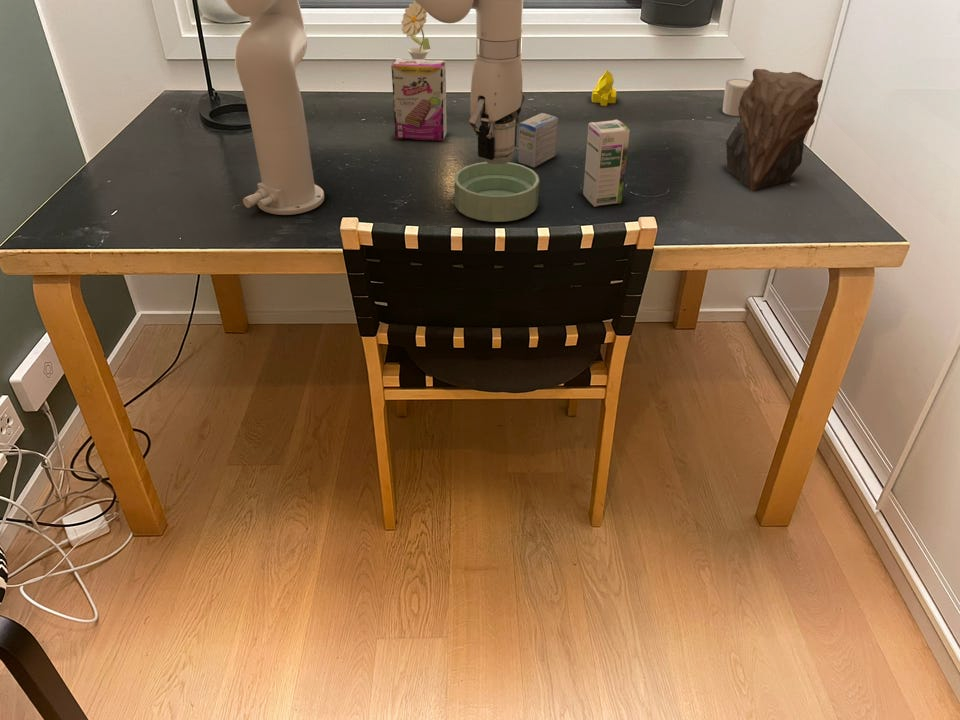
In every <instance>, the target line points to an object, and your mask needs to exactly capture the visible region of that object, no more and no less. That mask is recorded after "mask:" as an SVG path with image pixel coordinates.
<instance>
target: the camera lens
mask: <svg viewBox="0 0 960 720" xmlns="http://www.w3.org/2000/svg"><path fill="white" fill-rule="evenodd" d="M485 118H488V119H489V115H486V114H485ZM515 122H516V121H515V119H514V117H513V116H512V115H510V114H509V115H507V116H505V117H503V118H501V119H499V120H497V121H496V123H495V127H494V131H493V136H492V137H494V138H495V157H494V159H493V160H489V159H485V158H482V157H481V160H482V161H483V162H487V163H490V164H504V163H508V162H510V163H511V161H512V160H513V158H514V157H513V156H514V155H515V149H516V146H515V125H516V124H515ZM484 126H485V127H486V128H487V129H488V126H489V122H484Z"/></svg>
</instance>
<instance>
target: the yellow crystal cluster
mask: <svg viewBox="0 0 960 720" xmlns="http://www.w3.org/2000/svg"><path fill="white" fill-rule="evenodd" d="M614 83H615V80H614V77H613V73H611V72H610V71H609V70H607V69H606V70H605V71H604V73H603V75H601V76H600V77H599V79H598V81H597V82H596V84H595V86H594V89H593V90H592V91H591V103H595V104H597V103H598V104H600V106H601V107H607V106H608V104H616V102H617V88H613V85H614Z"/></svg>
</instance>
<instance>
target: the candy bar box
mask: <svg viewBox="0 0 960 720" xmlns="http://www.w3.org/2000/svg"><path fill="white" fill-rule="evenodd" d="M391 83H392V99H393V100H392V101H393V117H394V118H393V119H394V135H395V140H410V141H411V140H412V141H432V142H435V141H436V142H444V141H445V138H446V136H447V133H448V131H447V130H448V125H447V64H446V60H437V59H425V60H418V59H412V58H394V60H393V62H392V63H391Z"/></svg>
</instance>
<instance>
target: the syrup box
mask: <svg viewBox="0 0 960 720" xmlns="http://www.w3.org/2000/svg"><path fill="white" fill-rule="evenodd" d="M630 134H631V133H630V128H629V127H628V126H627V125H626V124H624V123H623V122H622V121H621V120H618V119H612V120H605V121H604V120H603V121H595V122H594V121H592V122H588V126H587V140H586V151H585V165H584V175H583V176H584V178H583V189H582V190H583V191H582V195H583V196H584V198H585V199H586V200H587V201H588V203H590V204H591V205H592V207H594V208H595V207H596V208H597V207H600V206H607V205H615V204H621V203H622V201H623V191H624V185H625V184H624V183H625V175H626V167H627V159H628V158H627V157H628V148H629V140H630Z"/></svg>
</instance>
